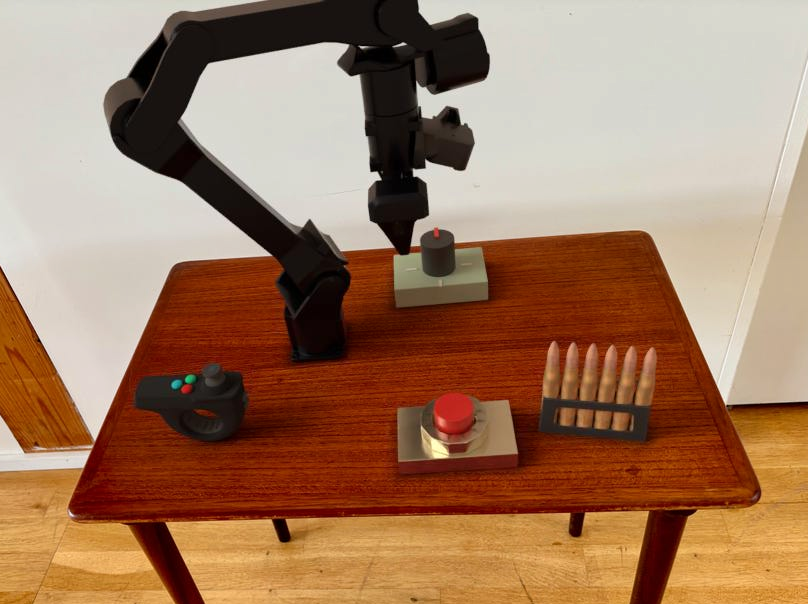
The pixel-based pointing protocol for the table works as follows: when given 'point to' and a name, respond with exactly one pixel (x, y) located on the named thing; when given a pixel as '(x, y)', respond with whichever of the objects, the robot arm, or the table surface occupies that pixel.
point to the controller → (196, 401)
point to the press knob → (454, 413)
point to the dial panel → (440, 280)
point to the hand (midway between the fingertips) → (403, 232)
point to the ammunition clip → (597, 395)
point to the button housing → (456, 440)
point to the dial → (438, 252)
